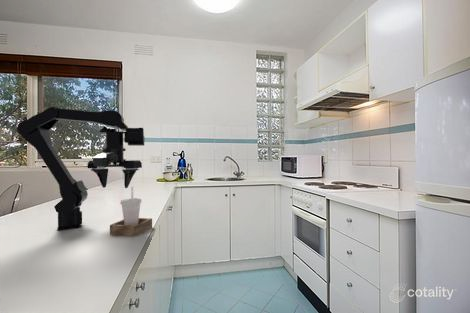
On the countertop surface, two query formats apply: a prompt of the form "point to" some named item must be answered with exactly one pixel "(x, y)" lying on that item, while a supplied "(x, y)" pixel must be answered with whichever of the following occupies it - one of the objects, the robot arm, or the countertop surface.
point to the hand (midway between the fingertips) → (115, 187)
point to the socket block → (130, 227)
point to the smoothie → (131, 210)
